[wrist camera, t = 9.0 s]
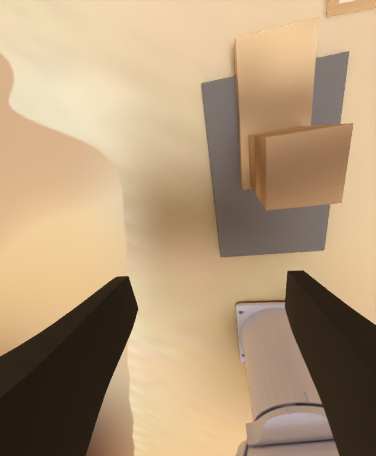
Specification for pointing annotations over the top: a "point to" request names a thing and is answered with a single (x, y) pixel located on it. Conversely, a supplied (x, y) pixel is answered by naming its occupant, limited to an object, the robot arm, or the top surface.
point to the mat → (247, 199)
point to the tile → (348, 6)
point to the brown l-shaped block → (286, 121)
